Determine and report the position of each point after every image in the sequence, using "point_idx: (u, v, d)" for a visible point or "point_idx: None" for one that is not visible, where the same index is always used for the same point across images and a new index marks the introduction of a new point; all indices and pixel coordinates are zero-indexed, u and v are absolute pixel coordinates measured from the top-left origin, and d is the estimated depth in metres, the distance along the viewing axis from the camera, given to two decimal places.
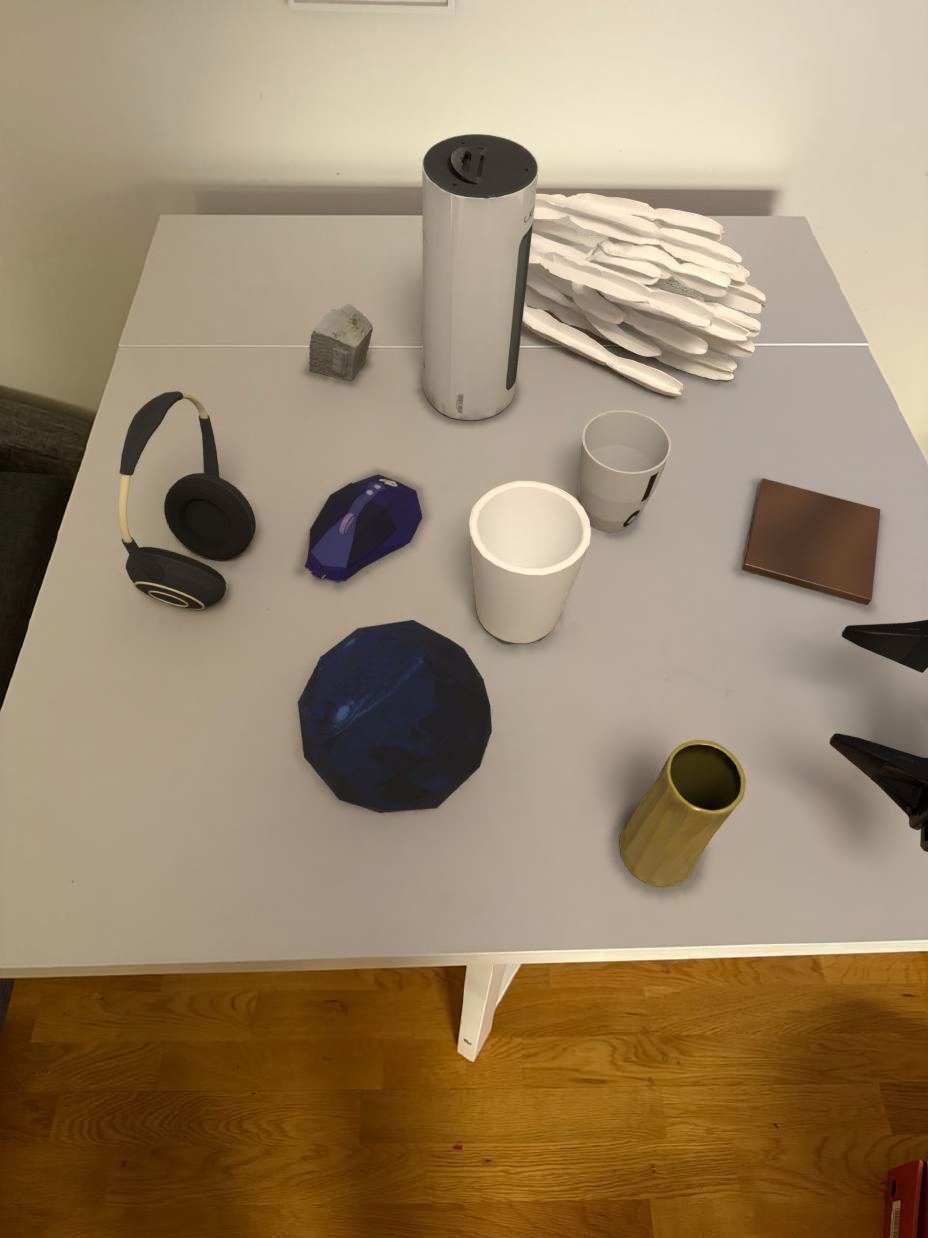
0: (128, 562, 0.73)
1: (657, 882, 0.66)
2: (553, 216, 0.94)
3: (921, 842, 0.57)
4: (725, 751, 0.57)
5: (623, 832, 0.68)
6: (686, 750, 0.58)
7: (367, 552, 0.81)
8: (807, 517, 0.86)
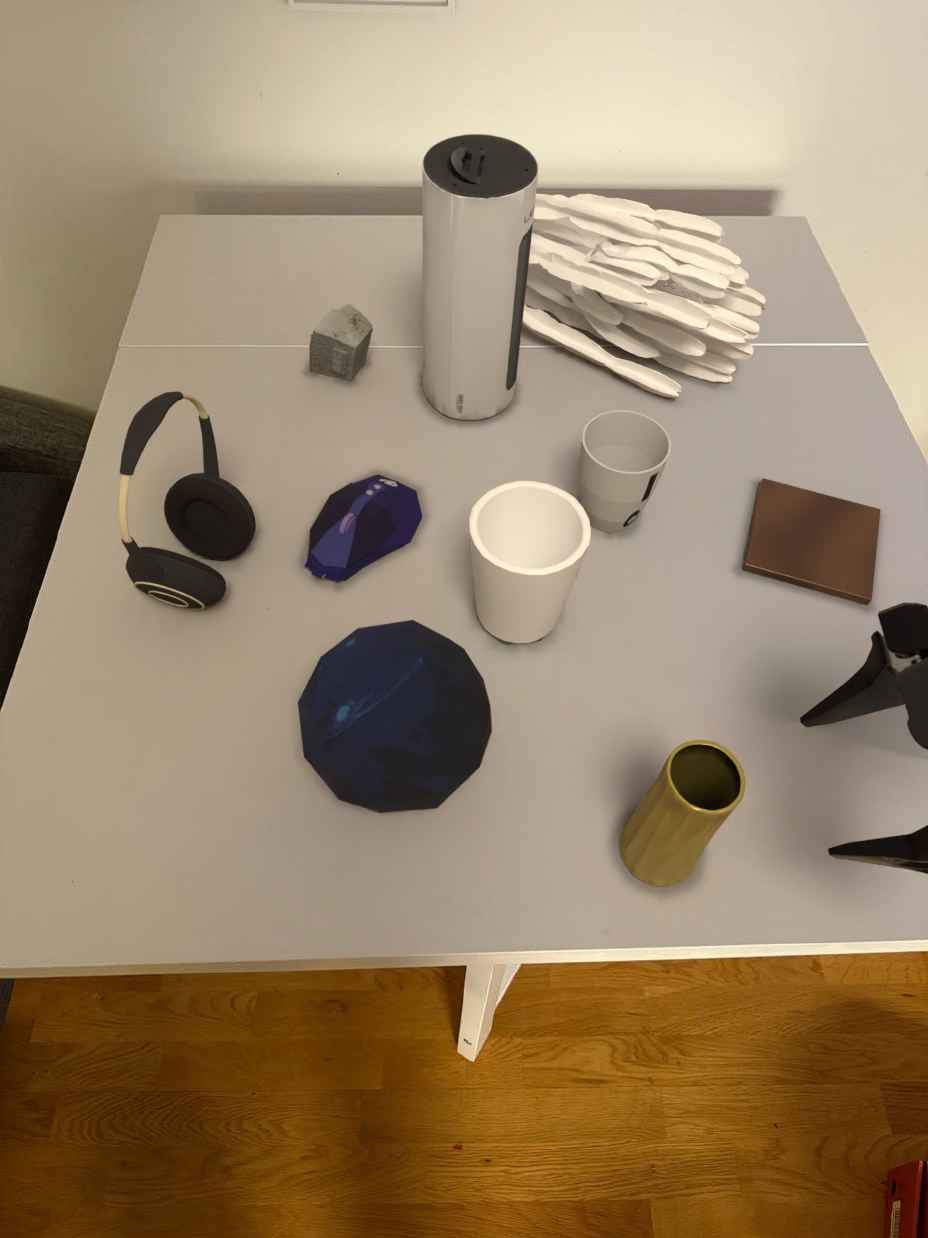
0: (128, 562, 0.73)
1: (657, 882, 0.66)
2: (553, 216, 0.94)
3: None
4: (725, 751, 0.57)
5: (623, 832, 0.68)
6: (686, 750, 0.58)
7: (367, 552, 0.81)
8: (807, 517, 0.86)
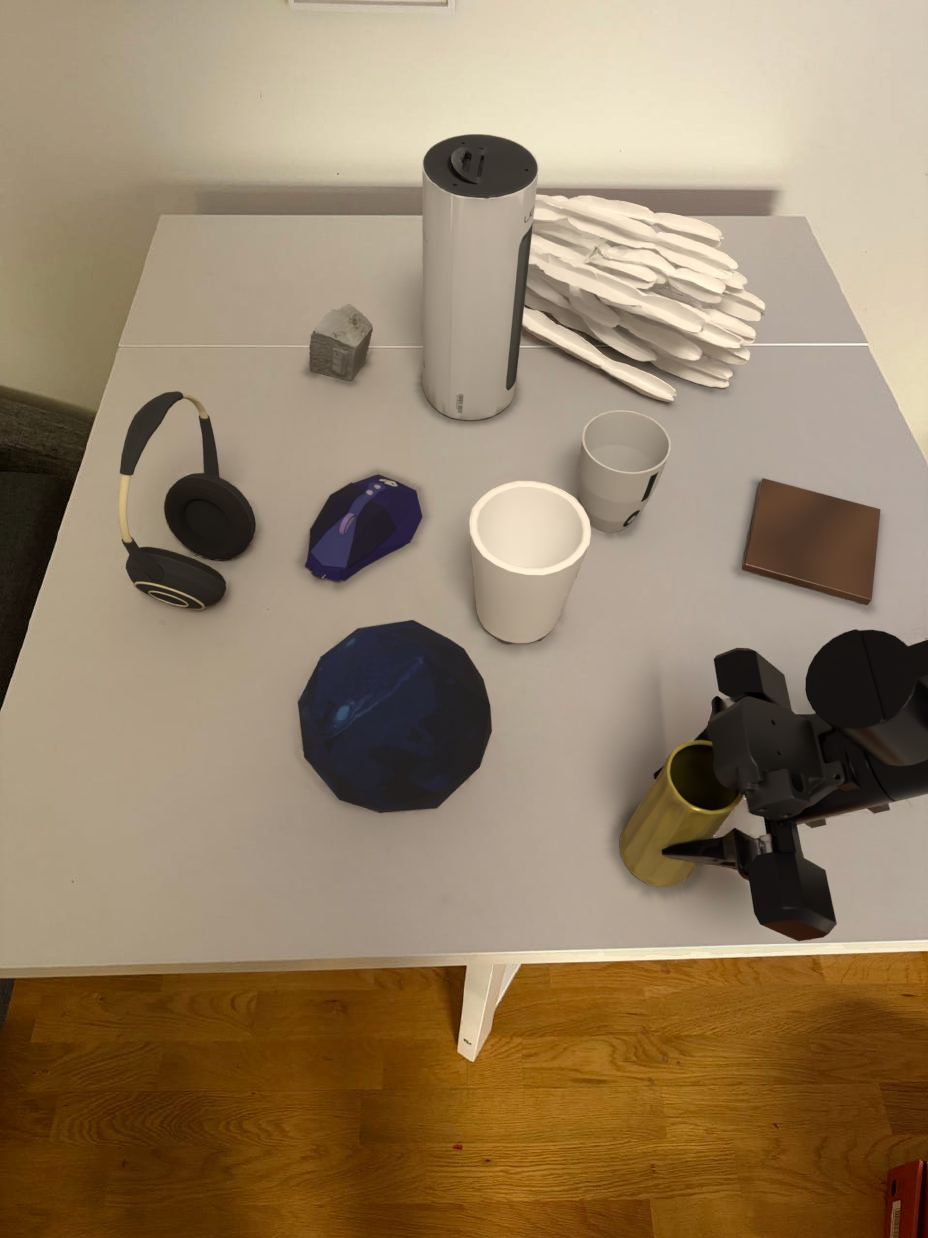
0: (128, 562, 0.73)
1: (657, 882, 0.66)
2: (552, 217, 0.94)
3: None
4: None
5: (623, 832, 0.68)
6: (686, 750, 0.58)
7: (367, 552, 0.81)
8: (807, 517, 0.86)
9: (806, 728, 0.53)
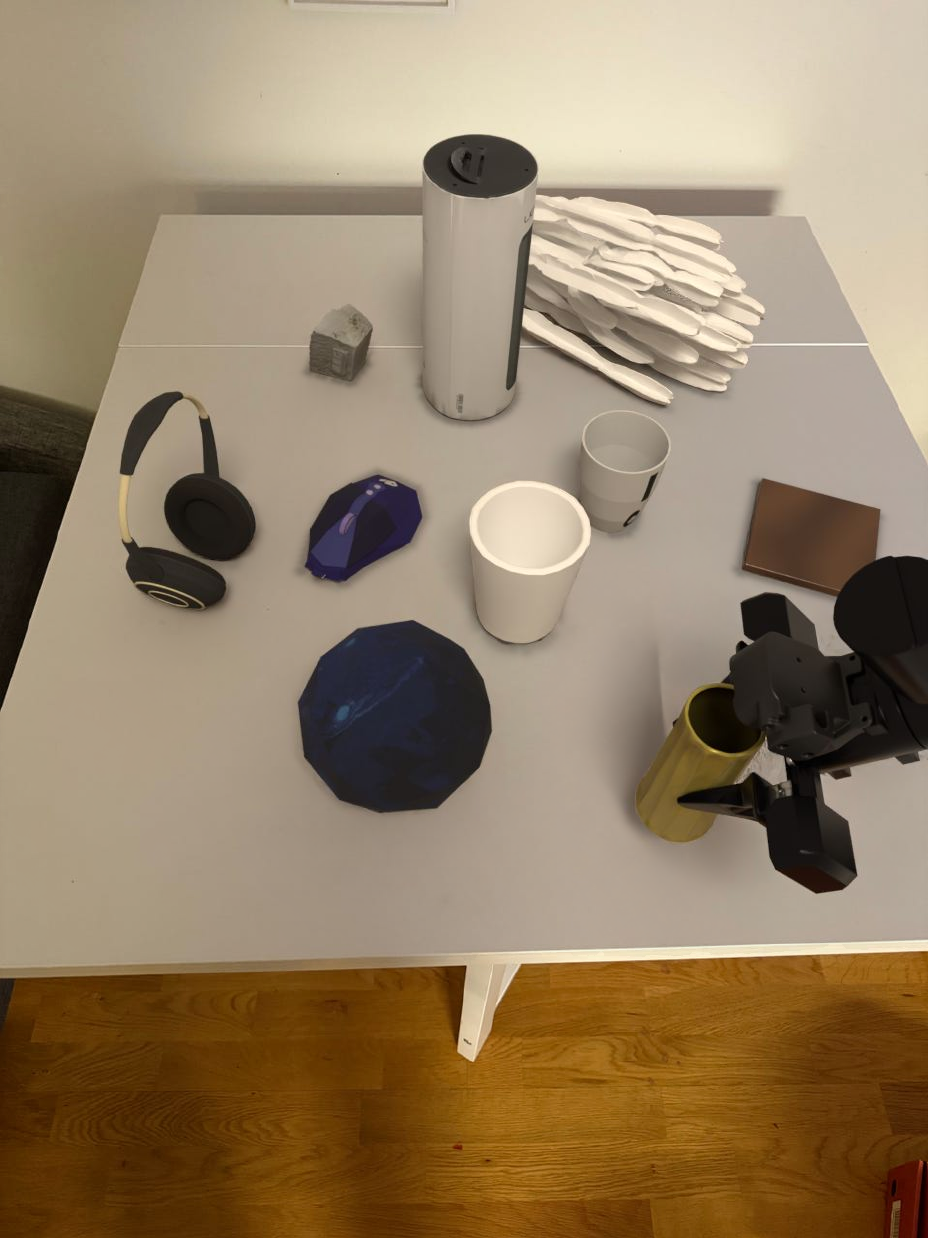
0: (128, 562, 0.73)
1: (672, 837, 0.63)
2: (552, 218, 0.94)
3: None
4: None
5: (639, 785, 0.66)
6: (707, 694, 0.56)
7: (367, 552, 0.81)
8: (807, 517, 0.86)
9: (834, 669, 0.51)
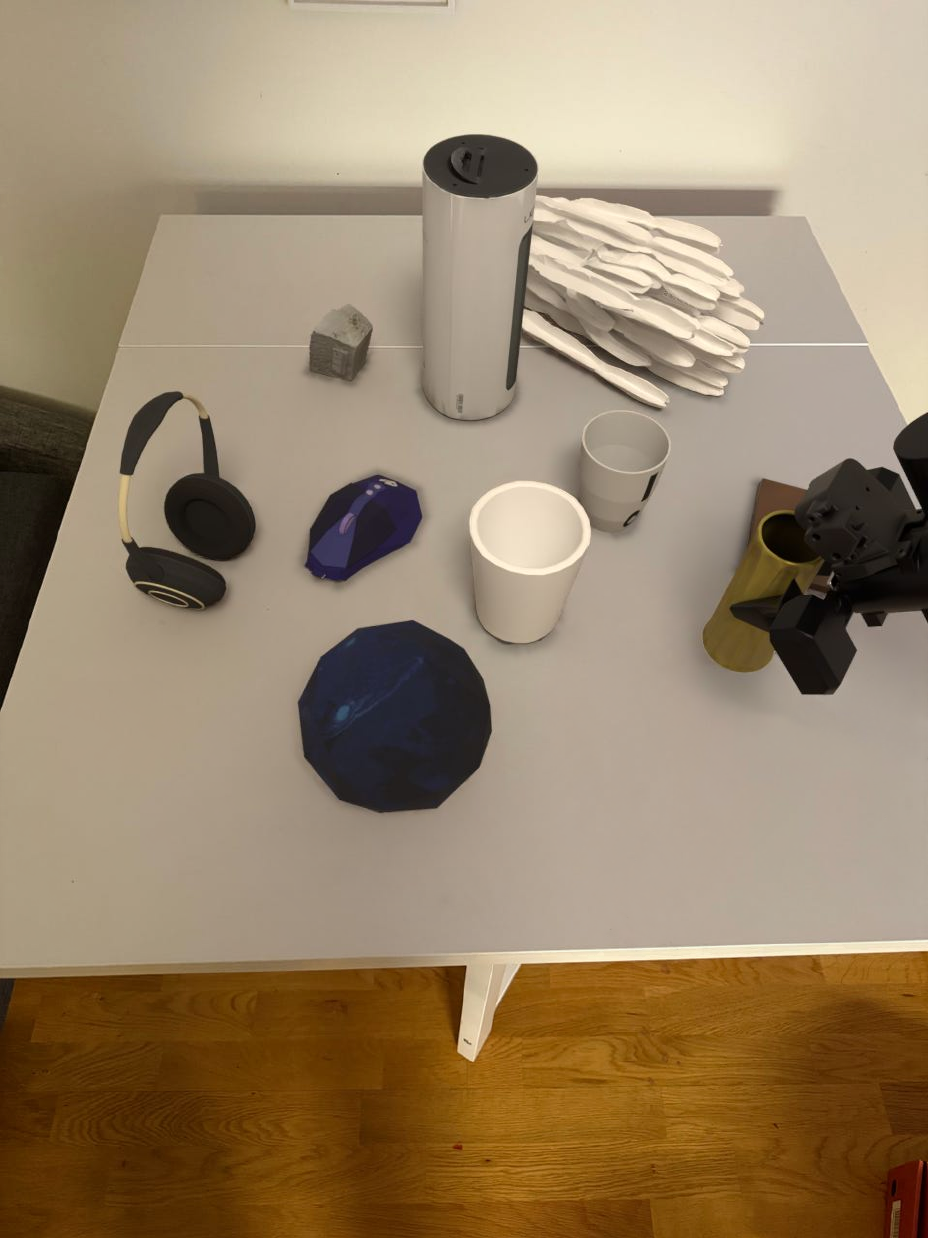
0: (128, 562, 0.73)
1: (720, 659, 0.72)
2: (551, 219, 0.94)
3: None
4: None
5: None
6: (790, 522, 0.64)
7: (367, 552, 0.81)
8: None
9: (898, 514, 0.57)
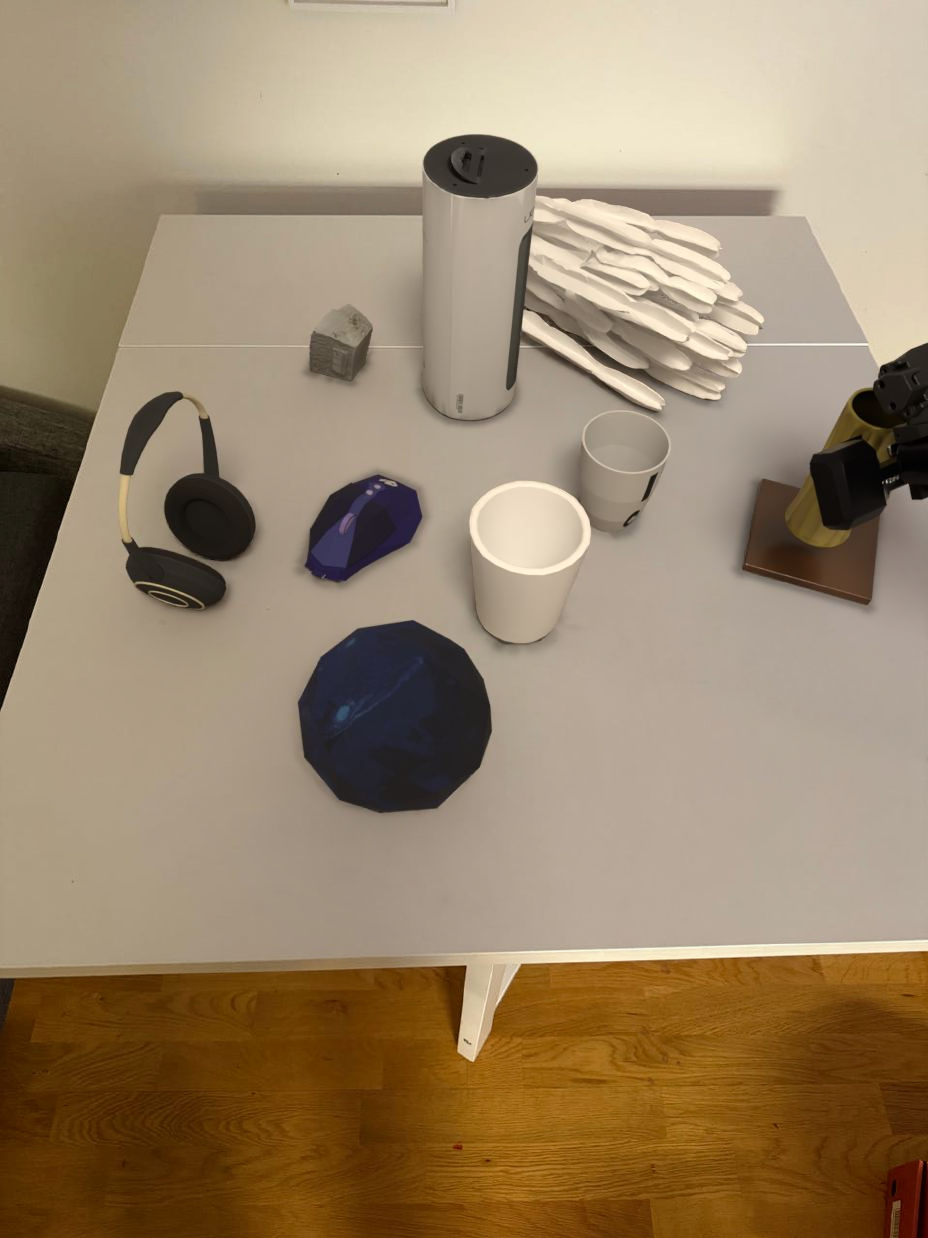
0: (128, 562, 0.73)
1: (792, 525, 0.81)
2: (551, 219, 0.94)
3: (831, 527, 0.68)
4: None
5: None
6: None
7: (367, 552, 0.81)
8: None
9: None
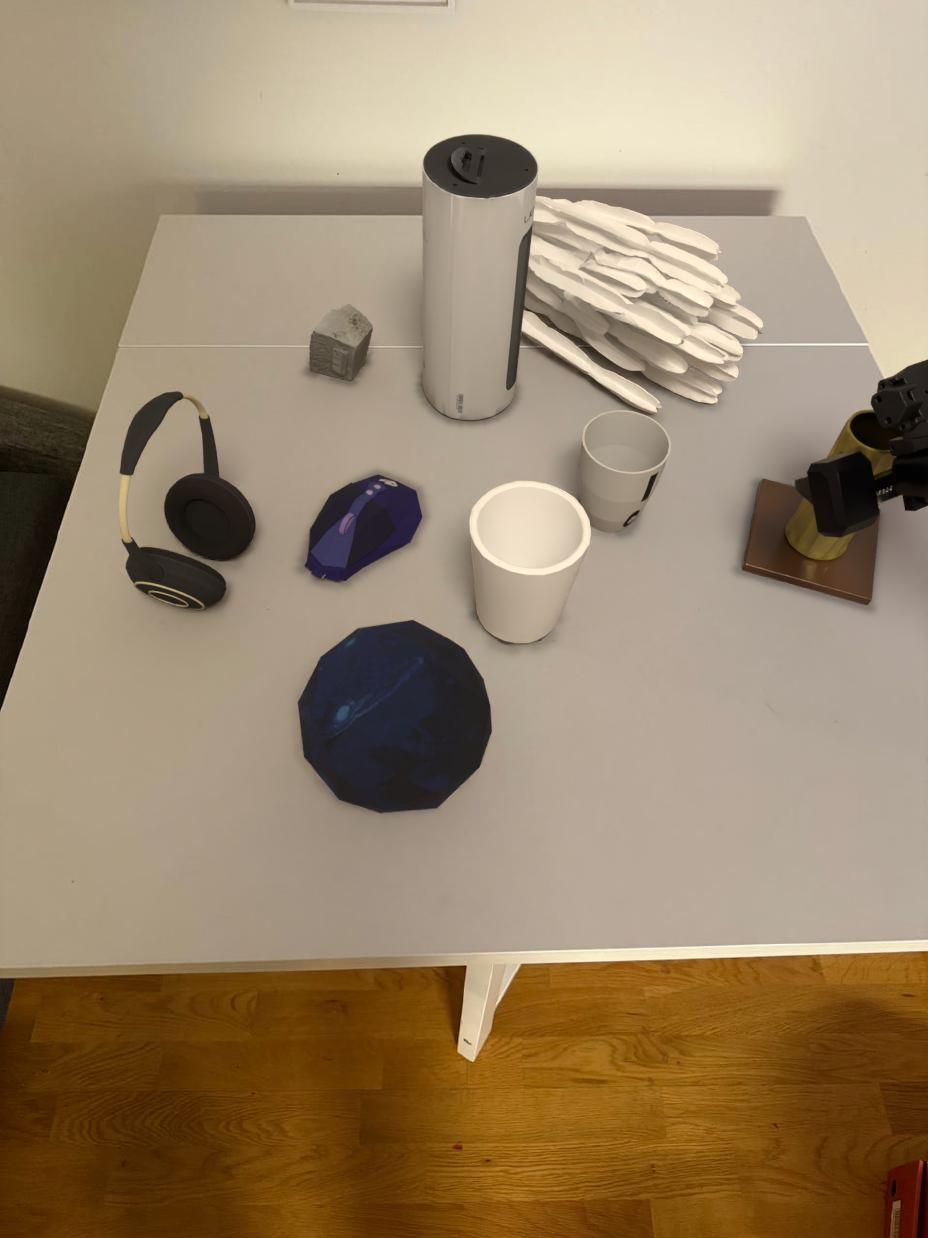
0: (128, 562, 0.73)
1: (791, 537, 0.84)
2: (550, 220, 0.94)
3: None
4: None
5: None
6: None
7: (367, 552, 0.81)
8: None
9: None
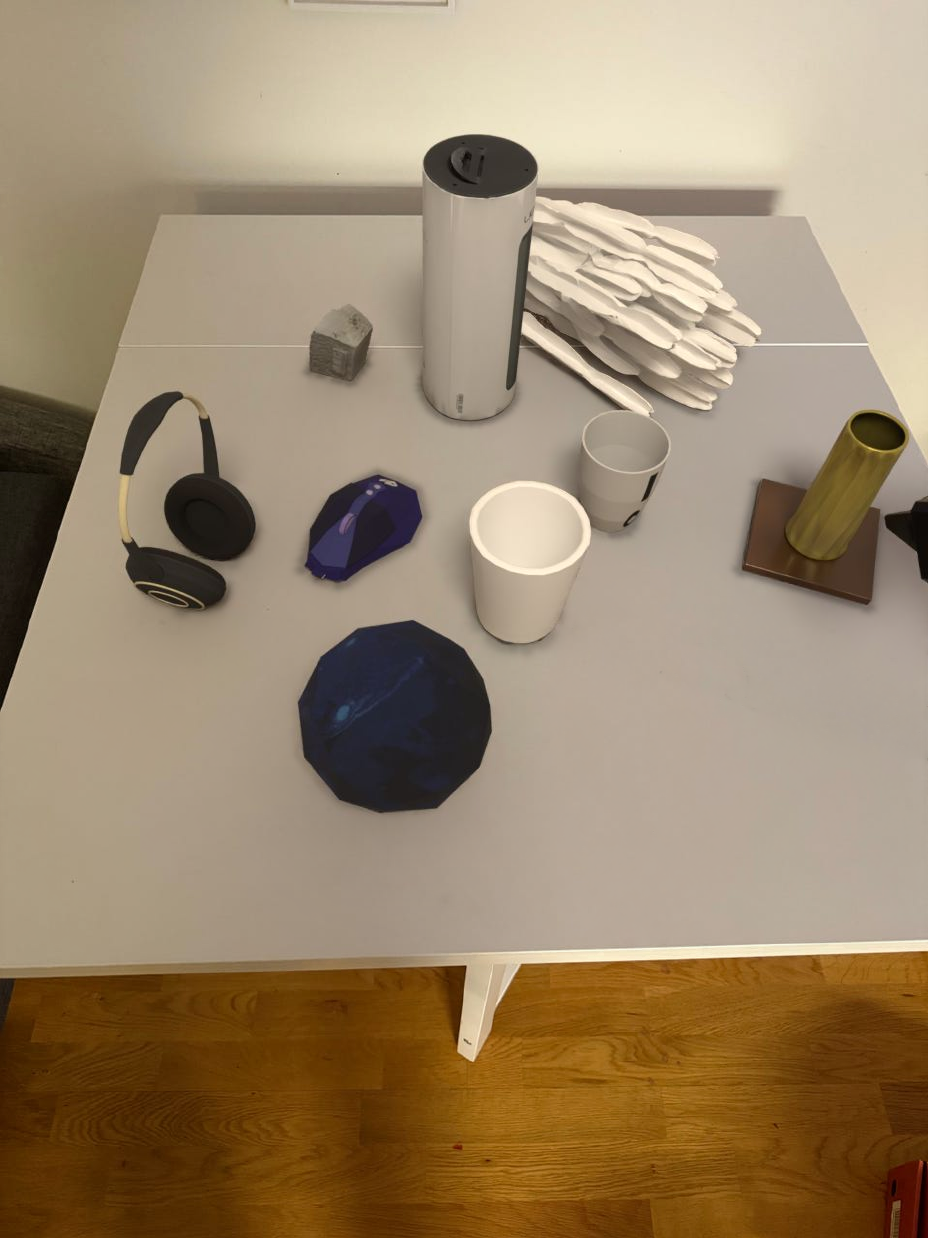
0: (128, 562, 0.73)
1: (791, 537, 0.84)
2: (549, 220, 0.93)
3: None
4: (906, 436, 0.73)
5: None
6: (887, 426, 0.75)
7: (367, 552, 0.81)
8: None
9: None
